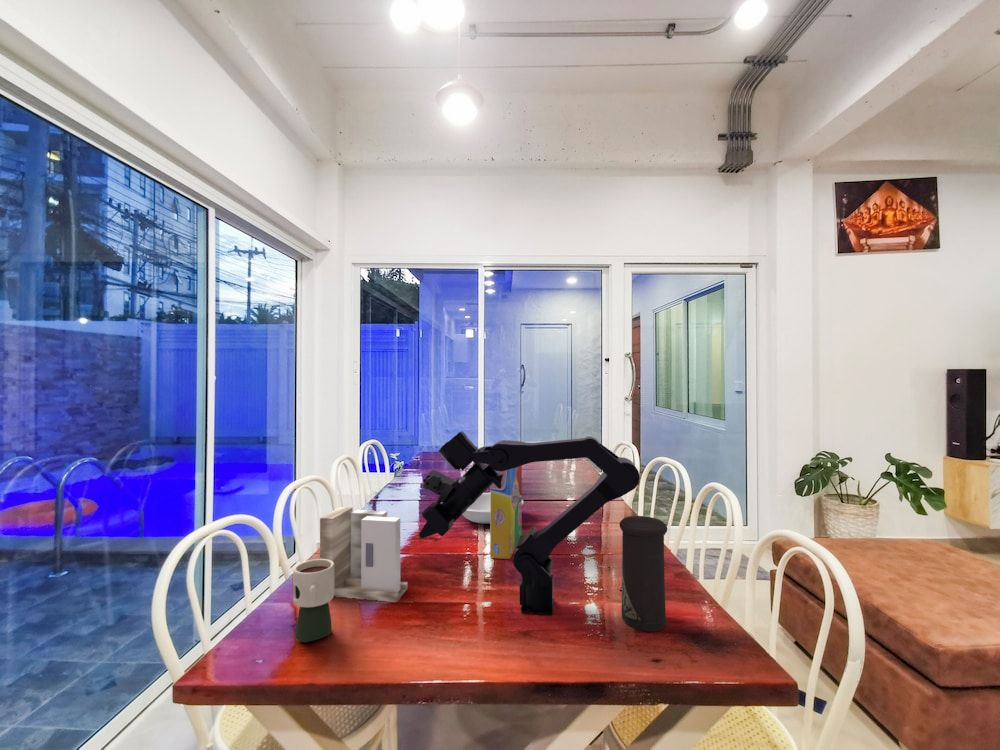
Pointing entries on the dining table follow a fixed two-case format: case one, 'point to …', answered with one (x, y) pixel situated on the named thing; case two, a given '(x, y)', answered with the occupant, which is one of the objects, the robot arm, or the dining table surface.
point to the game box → (506, 514)
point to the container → (643, 573)
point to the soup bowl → (480, 510)
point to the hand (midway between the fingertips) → (422, 534)
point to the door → (380, 554)
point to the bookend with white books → (349, 553)
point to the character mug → (313, 598)
